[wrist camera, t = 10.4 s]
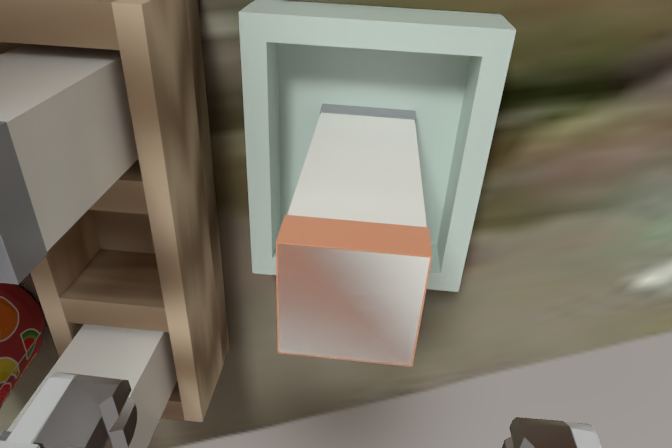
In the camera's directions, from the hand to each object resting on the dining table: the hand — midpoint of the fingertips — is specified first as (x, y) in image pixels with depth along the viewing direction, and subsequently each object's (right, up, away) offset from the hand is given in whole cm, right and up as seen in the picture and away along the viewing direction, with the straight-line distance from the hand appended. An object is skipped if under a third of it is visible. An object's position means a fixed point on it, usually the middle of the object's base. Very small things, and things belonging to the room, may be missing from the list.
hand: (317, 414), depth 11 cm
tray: (+2, +8, +13) cm, 16 cm away
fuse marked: (+2, +7, +13) cm, 15 cm away
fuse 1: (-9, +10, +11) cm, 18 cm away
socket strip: (-9, +5, +16) cm, 19 cm away
